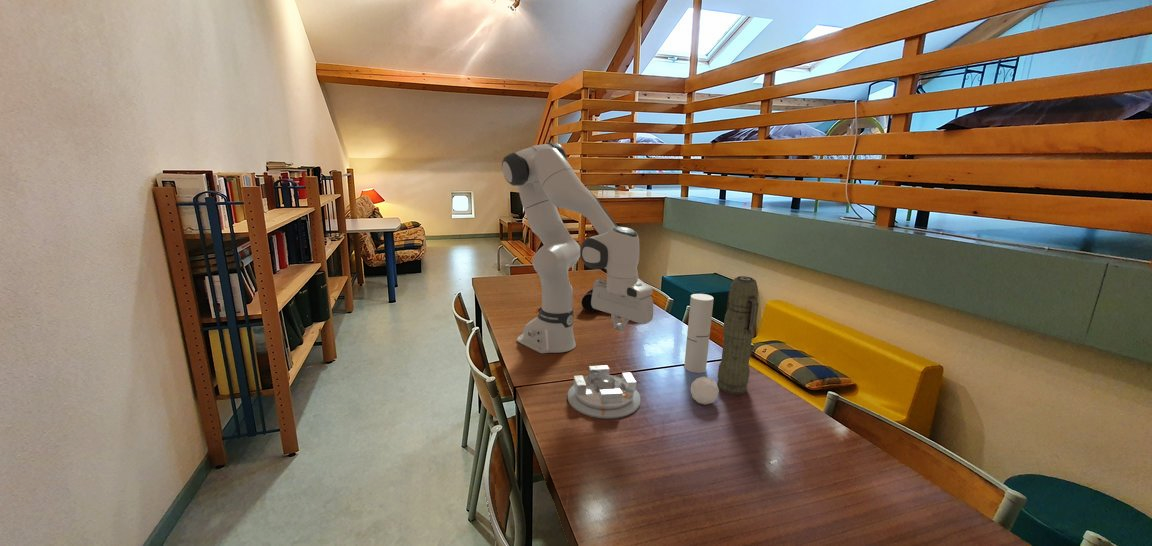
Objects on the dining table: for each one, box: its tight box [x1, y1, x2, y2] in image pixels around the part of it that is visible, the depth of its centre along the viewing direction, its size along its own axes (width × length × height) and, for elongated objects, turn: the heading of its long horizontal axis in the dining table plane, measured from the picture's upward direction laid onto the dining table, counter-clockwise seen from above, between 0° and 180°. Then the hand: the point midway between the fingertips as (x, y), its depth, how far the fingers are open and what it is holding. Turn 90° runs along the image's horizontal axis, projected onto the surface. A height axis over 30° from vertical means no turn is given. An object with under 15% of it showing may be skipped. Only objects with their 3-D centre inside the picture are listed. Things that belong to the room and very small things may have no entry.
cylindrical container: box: [683, 293, 714, 374], centre depth 151 cm, size 7×7×25 cm
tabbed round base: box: [573, 364, 637, 410], centre depth 132 cm, size 17×17×5 cm
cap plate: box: [567, 384, 641, 420], centre depth 133 cm, size 21×21×1 cm
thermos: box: [716, 275, 759, 395], centre depth 137 cm, size 9×12×35 cm
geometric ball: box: [690, 375, 720, 405], centre depth 131 cm, size 8×8×8 cm
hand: (619, 329), depth 134 cm, fingers closed
